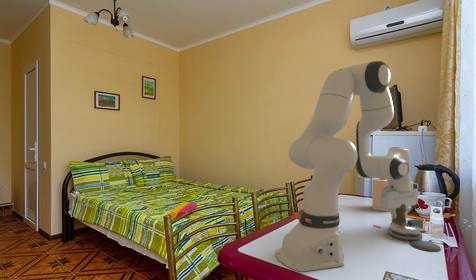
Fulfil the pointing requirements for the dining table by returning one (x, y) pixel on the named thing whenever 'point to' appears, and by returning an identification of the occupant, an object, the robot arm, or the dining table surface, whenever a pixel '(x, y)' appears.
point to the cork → (400, 214)
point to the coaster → (425, 246)
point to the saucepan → (407, 227)
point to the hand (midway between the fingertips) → (398, 217)
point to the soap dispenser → (378, 192)
